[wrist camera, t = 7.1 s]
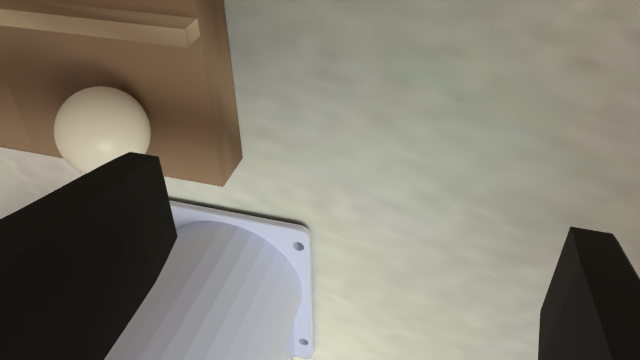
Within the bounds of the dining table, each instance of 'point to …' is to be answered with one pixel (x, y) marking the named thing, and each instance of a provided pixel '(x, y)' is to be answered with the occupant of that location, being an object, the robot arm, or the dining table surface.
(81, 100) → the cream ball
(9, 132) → the hole plate
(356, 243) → the dining table surface
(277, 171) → the dining table surface
